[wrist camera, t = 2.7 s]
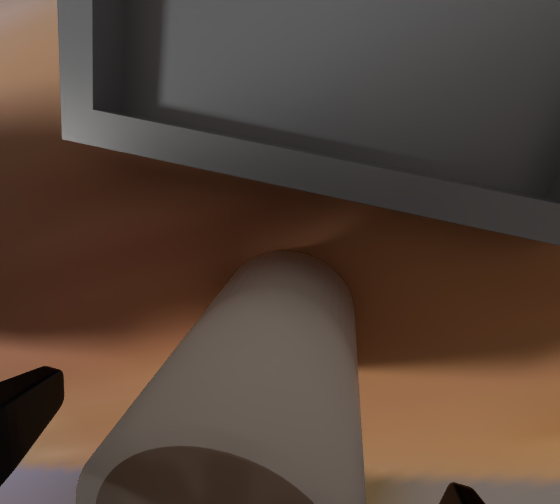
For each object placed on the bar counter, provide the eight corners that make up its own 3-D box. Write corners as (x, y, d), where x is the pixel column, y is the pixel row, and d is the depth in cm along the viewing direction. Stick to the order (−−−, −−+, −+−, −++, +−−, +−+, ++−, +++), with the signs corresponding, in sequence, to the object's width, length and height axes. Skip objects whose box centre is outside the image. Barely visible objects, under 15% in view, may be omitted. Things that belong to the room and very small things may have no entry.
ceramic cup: (216, 351, 14) (76, 590, 7) (232, 236, 13) (69, 387, 5) (336, 383, 14) (328, 678, 6) (370, 269, 12) (414, 488, 5)
